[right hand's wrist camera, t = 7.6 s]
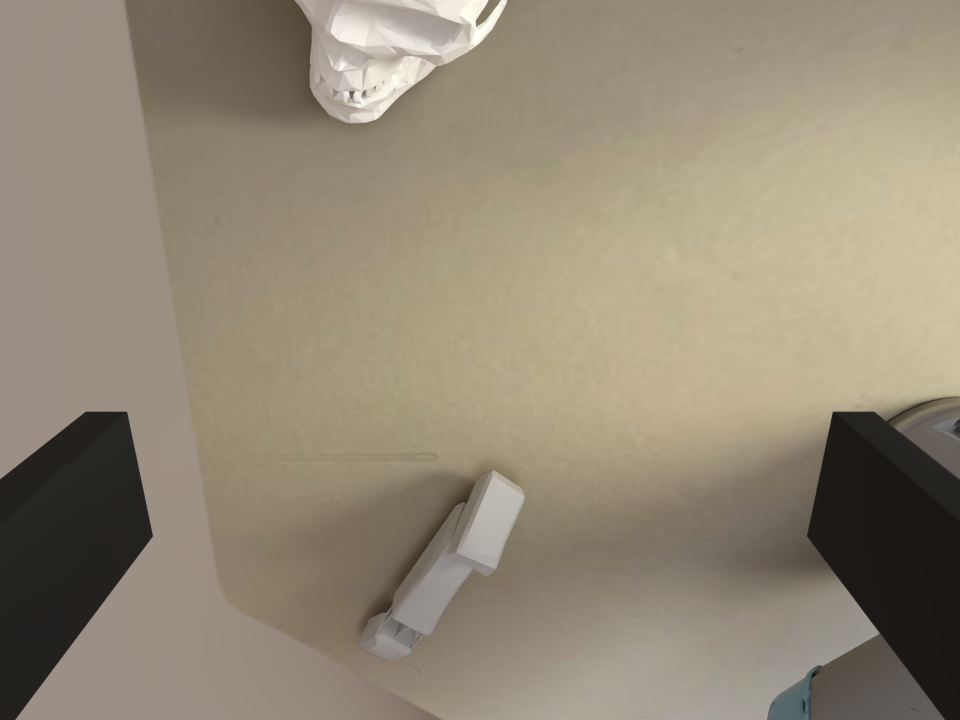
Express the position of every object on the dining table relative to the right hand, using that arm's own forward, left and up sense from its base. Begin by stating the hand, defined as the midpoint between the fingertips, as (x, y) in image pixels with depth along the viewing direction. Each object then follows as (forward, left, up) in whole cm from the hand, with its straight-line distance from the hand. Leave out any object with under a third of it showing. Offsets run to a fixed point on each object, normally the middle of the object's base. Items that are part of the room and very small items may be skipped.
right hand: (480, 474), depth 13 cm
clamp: (+26, +12, -35) cm, 46 cm away
